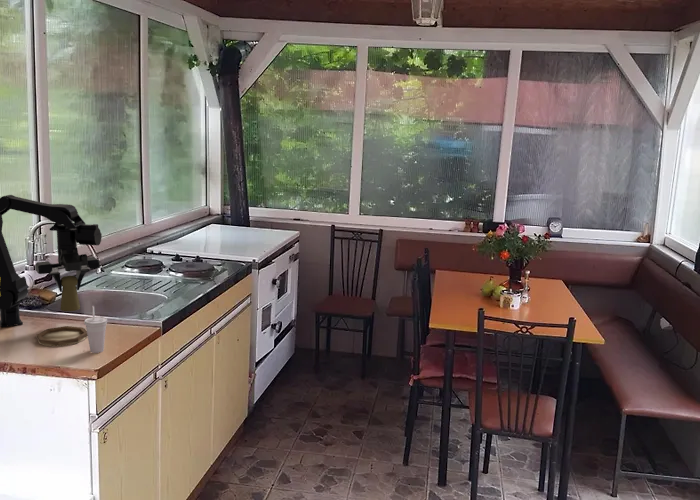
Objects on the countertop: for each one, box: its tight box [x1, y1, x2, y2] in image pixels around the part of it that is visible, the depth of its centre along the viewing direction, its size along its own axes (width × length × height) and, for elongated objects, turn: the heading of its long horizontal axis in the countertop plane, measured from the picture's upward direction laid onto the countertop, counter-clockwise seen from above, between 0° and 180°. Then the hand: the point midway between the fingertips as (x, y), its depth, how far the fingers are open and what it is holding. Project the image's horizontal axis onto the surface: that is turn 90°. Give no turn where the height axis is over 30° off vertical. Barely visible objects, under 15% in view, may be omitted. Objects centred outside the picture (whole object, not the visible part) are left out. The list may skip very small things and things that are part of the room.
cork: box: [59, 275, 81, 312], centre depth 210 cm, size 6×6×11 cm
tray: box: [36, 325, 88, 347], centre depth 201 cm, size 14×14×2 cm
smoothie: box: [83, 305, 108, 354], centre depth 191 cm, size 6×6×14 cm
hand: (69, 290), depth 210 cm, fingers closed on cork, 5 cm apart
